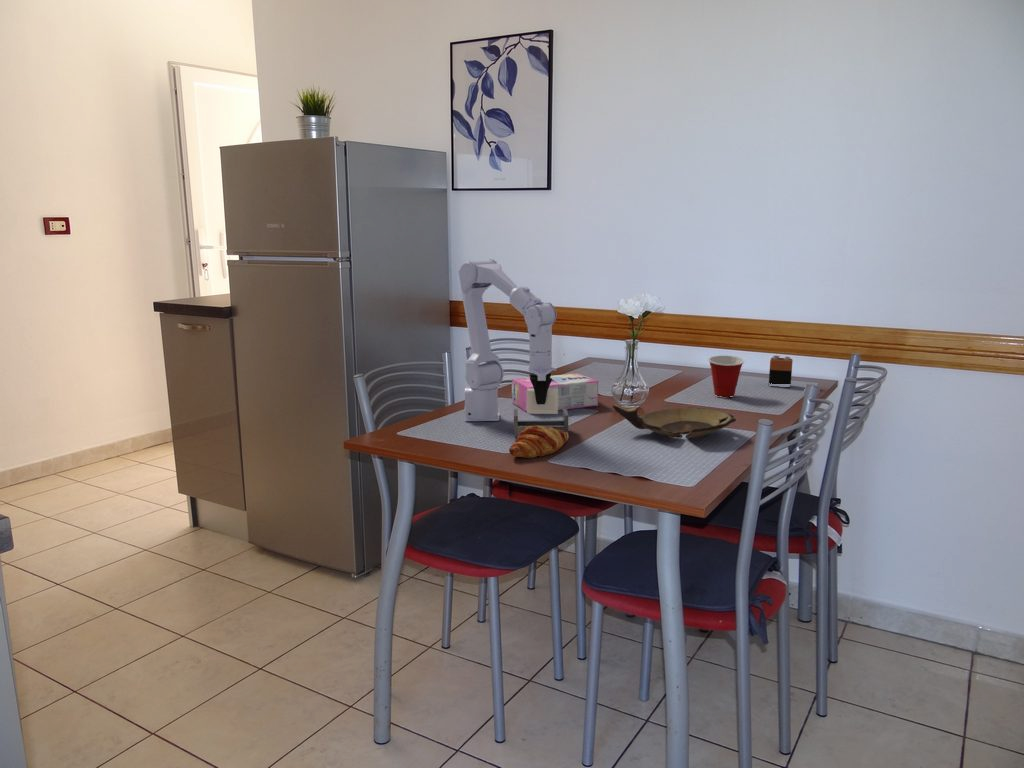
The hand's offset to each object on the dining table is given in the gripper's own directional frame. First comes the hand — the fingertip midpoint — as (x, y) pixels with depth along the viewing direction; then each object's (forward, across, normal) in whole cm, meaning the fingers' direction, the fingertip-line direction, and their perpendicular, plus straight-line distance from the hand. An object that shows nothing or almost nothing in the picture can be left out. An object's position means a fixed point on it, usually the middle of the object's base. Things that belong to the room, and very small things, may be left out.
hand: (540, 402), depth 204 cm
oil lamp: (+9, -1, -35) cm, 36 cm away
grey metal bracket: (+8, 0, 0) cm, 8 cm away
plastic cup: (+8, +40, -59) cm, 72 cm away
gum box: (+4, +24, -8) cm, 26 cm away
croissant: (+9, -15, 0) cm, 18 cm away
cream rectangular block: (+3, 0, 0) cm, 3 cm away
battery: (+8, +54, -81) cm, 98 cm away
